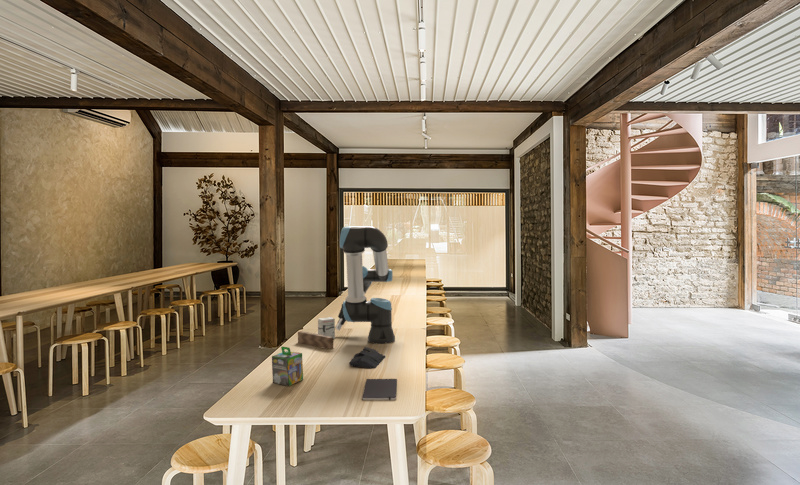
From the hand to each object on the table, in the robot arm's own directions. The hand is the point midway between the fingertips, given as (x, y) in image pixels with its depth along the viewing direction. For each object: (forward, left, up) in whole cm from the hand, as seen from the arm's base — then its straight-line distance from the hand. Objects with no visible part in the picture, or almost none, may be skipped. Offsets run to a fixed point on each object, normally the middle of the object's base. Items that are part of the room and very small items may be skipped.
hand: (337, 329), depth 281 cm
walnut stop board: (-6, +22, -4) cm, 23 cm away
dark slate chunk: (-47, +29, -5) cm, 56 cm away
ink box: (0, +9, -4) cm, 10 cm away
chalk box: (-40, +70, -4) cm, 81 cm away
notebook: (-78, +55, -5) cm, 96 cm away
